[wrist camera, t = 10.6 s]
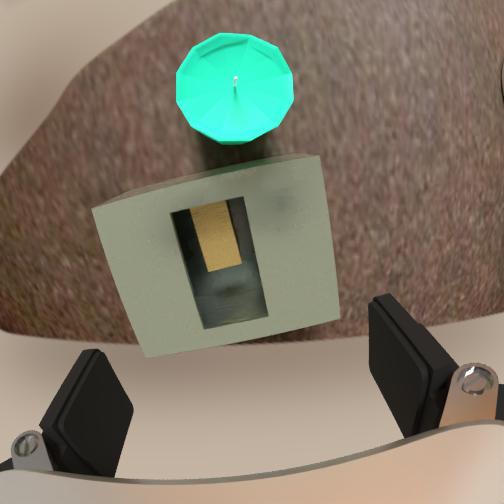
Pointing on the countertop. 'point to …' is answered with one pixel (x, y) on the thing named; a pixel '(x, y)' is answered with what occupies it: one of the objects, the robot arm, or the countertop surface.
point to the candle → (234, 88)
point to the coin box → (231, 278)
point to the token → (217, 235)
